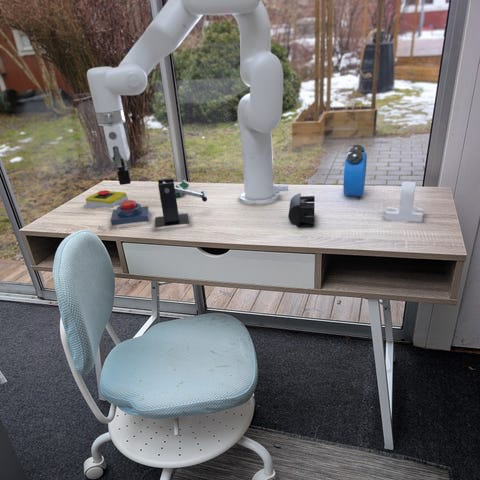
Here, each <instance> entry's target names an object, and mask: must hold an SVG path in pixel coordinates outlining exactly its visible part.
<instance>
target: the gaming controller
mask: <svg viewBox="0 0 480 480" xmlns="http://www.w3.org/2000/svg"><path fill="white" fill-rule="evenodd" d="M189 186H190V183H189V181H187V180H186V179H183V181H182V182H180V183H179V184H177V185H175V187H176V188H180V189H184V190H188V189H187V188H188V187H189ZM175 193H176V197H181V196H182V195H183V194H182V193H178V192H175Z"/></svg>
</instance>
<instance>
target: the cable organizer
mask: <svg viewBox="0 0 480 480" xmlns="http://www.w3.org/2000/svg"><path fill="white" fill-rule="evenodd" d="M416 185H417V182H416V181H402V183H401V188H400V189H401V190H400V197H399V205H398V206H387V207H386V211H385V216H384V220H386V221H399V222H401V221H402V222H414V223H415V222H418V223H422V222H423V219H424V211H425V209H424V208H423V207H414V200H415V194H416Z"/></svg>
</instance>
